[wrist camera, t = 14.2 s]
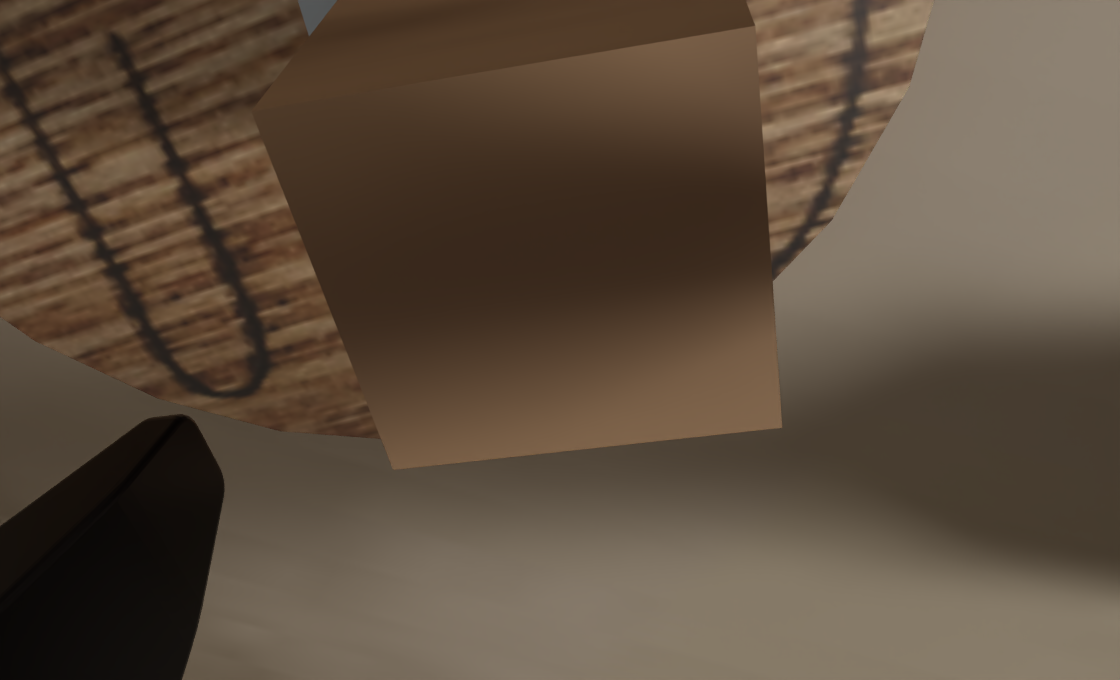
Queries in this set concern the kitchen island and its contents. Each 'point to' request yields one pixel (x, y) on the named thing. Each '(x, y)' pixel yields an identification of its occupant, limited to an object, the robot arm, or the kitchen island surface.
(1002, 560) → the kitchen island surface
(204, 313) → the trivet
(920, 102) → the kitchen island surface
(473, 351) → the walnut block
